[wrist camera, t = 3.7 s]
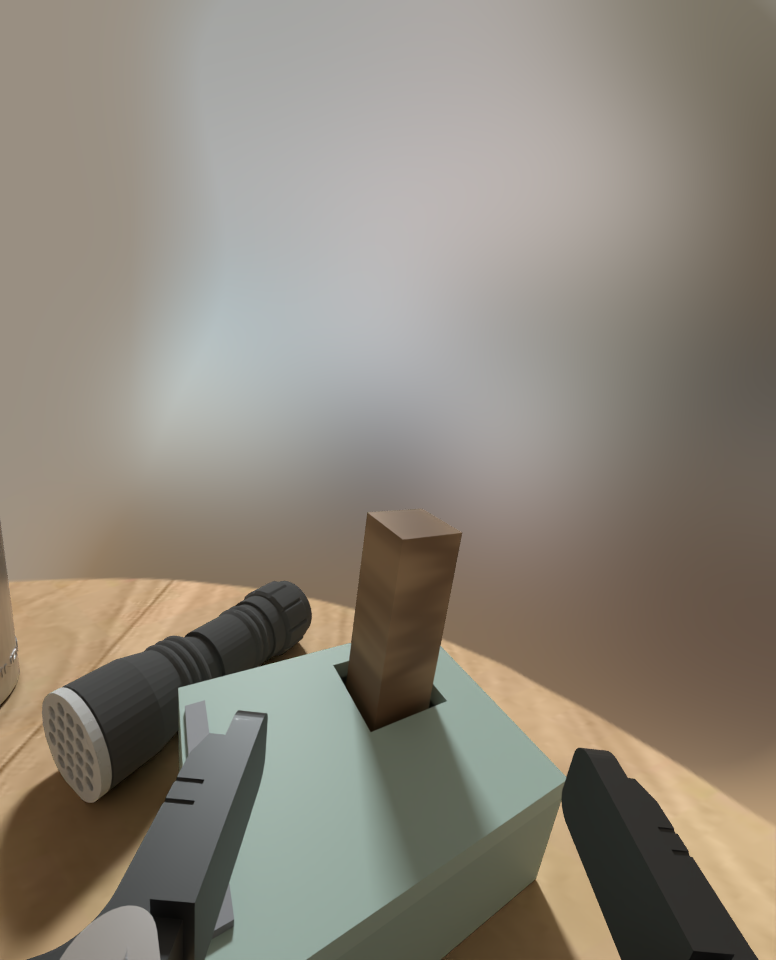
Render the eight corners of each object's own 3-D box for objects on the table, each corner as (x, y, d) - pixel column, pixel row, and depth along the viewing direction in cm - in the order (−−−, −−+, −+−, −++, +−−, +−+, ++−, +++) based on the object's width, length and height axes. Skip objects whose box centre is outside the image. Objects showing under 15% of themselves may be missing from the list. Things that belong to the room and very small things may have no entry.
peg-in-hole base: (197, 1166, 10) (198, 1025, 9) (178, 785, 19) (178, 682, 18) (535, 878, 17) (569, 773, 16) (407, 698, 26) (420, 620, 25)
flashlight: (266, 620, 33) (270, 564, 32) (315, 646, 31) (321, 587, 29) (46, 761, 20) (36, 674, 18) (103, 825, 17) (97, 731, 16)
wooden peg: (363, 797, 19) (402, 539, 15) (338, 743, 22) (367, 512, 18) (416, 771, 21) (462, 532, 17) (387, 723, 23) (421, 508, 20)
